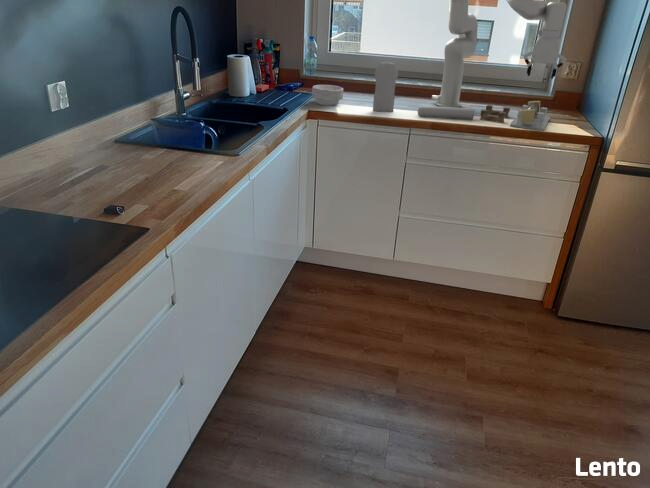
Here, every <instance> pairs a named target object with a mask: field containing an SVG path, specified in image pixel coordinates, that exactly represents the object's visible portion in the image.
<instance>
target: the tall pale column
mask: <svg viewBox="0 0 650 488" xmlns="http://www.w3.org/2000/svg"><path fill="white" fill-rule="evenodd" d="M377 65H378V66H377V68H376V69H375V71H374V79H375V89H374V91H375V92H374V94H373V103H372V112H380V113H393V112H394V107H395V98H396V97H395V90H396V89H395V88H396V83H397V81H396V80H398V77H399V70H397V66H396V65H397V64H396V63H393V62H390V61H385V62H378V64H377Z"/></svg>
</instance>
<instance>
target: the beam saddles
mask: <svg viewBox="0 0 650 488" xmlns="http://www.w3.org/2000/svg"><path fill="white" fill-rule="evenodd" d="M493 107H494V106H493V104H486V107H485V108H483V109H481V110H480V118H479V119H480V121H481V120H483V121H487V122H488V121H490V122H497V123H503V122H504V121H505V118H507V117H509V113H510V111H511V107H508V106H504V107H503V110H499V109H498V110H497V109H493Z"/></svg>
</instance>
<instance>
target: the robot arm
mask: <svg viewBox="0 0 650 488" xmlns="http://www.w3.org/2000/svg"><path fill="white" fill-rule="evenodd" d="M506 2H507V4H508V5H509V7H510V8H511V9H512V10H513V11H514V12H516V14H518V15H519V16H520V17H522V18H523V19H525V20H527V21H542V20H543V23H542V26H541V29H540V30H537V32H536V34H537V35H539V37H537V39H536V41H535V44H534V48H533V51H530V52H528V53H525V54H523V59H524V62H525V64H526V65H527V69H526V75H527V77H529V76H531V73H532V68H533V66H532V65H533V64H534V63H536V64H543V65H545V64H546V65H552V66H553V69H552V71H551V77H550V79H551V80H553V79H554V78H555V77H556V74H557V71H558V69H559V68H561V67H562V66H563V65H564V64H565V63H566V61H568V60H567V58H566V57H565V56H564V55H562V54H560V49H561V48H560V47H561V38H560V36H561V33H562V27H563V24H564V20H565V19H564V18H565V15H566V11H567V3H566V2H561V1H547V0H506ZM448 11H449V13H448V31H449V33H450V34H452V35H453V36H454V35H455V36H458V37H456V38H455V37H454V38H452V39H450V40H448V41H447V42H446V44H445V47H444V64H443V74H442V81H441V89H440V94H439V95H435V94H433V95H431V100H433V101H434V100H435V101H436V102H435V105H436V107H454V108H462V103H461V102H460V97H461V89H462V84H463V78H464V72H465V71H464V69H465V64H464V59H469V58H472V56H473V55H474V54H475V52H476V49H477V42H478V20H477V17H476V15H474V14H473V13H470V12H469V0H449V10H448ZM529 56H531V61H530V60H529V59H528V58H529ZM558 59H560V60H561V62H559V64H558V63H557V61H558Z"/></svg>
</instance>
